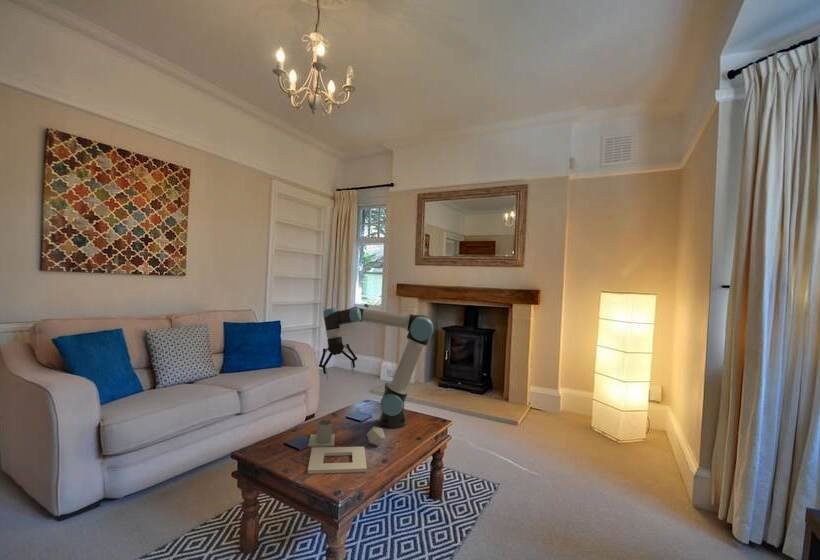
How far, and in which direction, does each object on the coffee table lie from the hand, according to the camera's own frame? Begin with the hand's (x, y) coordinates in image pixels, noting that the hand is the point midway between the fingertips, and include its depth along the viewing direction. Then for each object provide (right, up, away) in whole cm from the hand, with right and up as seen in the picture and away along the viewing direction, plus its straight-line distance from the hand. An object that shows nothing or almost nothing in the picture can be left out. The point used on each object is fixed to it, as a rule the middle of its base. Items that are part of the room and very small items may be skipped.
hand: (340, 377), depth 193 cm
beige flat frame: (+5, -28, -33) cm, 43 cm away
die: (+20, -29, -14) cm, 38 cm away
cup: (-6, -27, -14) cm, 31 cm away
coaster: (-6, -28, -14) cm, 32 cm away
